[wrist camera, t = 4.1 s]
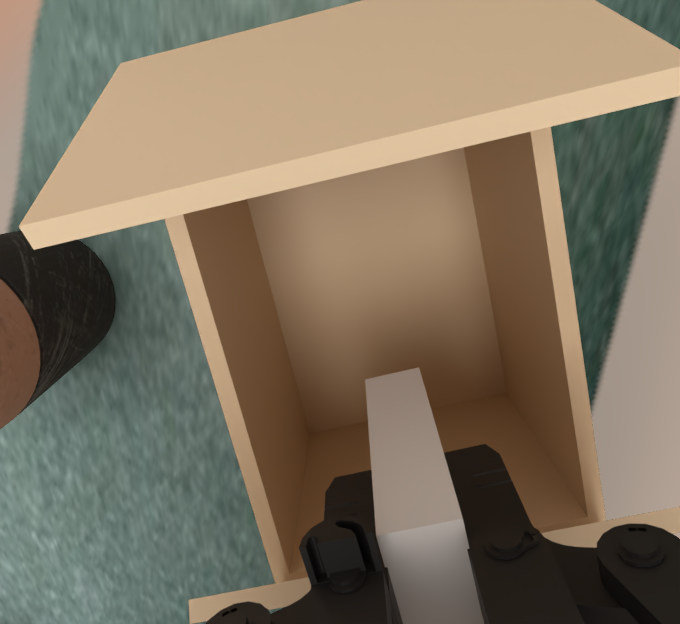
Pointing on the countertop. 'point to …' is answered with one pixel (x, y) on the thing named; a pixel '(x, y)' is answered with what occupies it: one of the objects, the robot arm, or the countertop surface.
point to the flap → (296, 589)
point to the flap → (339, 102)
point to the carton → (396, 328)
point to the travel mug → (47, 315)
